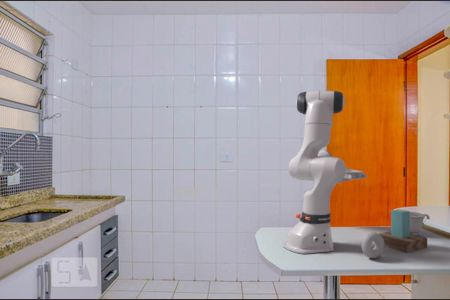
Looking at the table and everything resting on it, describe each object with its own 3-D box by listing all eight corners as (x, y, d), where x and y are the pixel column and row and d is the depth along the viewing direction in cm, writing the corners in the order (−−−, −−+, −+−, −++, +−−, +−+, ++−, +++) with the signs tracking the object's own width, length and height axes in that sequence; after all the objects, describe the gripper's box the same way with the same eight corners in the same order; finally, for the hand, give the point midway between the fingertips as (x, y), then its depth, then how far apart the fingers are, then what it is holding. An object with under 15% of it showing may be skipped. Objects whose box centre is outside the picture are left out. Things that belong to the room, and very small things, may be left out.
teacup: (437, 237, 138) (437, 216, 139) (405, 237, 139) (405, 216, 139) (421, 230, 151) (421, 211, 151) (391, 230, 151) (391, 211, 151)
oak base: (406, 252, 119) (406, 242, 119) (375, 243, 131) (375, 234, 131) (427, 247, 125) (427, 238, 125) (395, 238, 137) (395, 230, 137)
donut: (379, 255, 116) (379, 229, 116) (386, 257, 113) (386, 231, 113) (359, 258, 113) (359, 232, 113) (366, 261, 110) (366, 234, 110)
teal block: (402, 238, 125) (402, 212, 125) (391, 235, 129) (391, 210, 129) (409, 236, 127) (409, 211, 127) (398, 233, 131) (398, 209, 131)
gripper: (323, 169, 155) (343, 170, 143) (350, 168, 164) (372, 169, 152) (323, 181, 155) (343, 183, 143) (351, 179, 164) (372, 181, 152)
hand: (359, 176), depth 147 cm, fingers open, 8 cm apart
